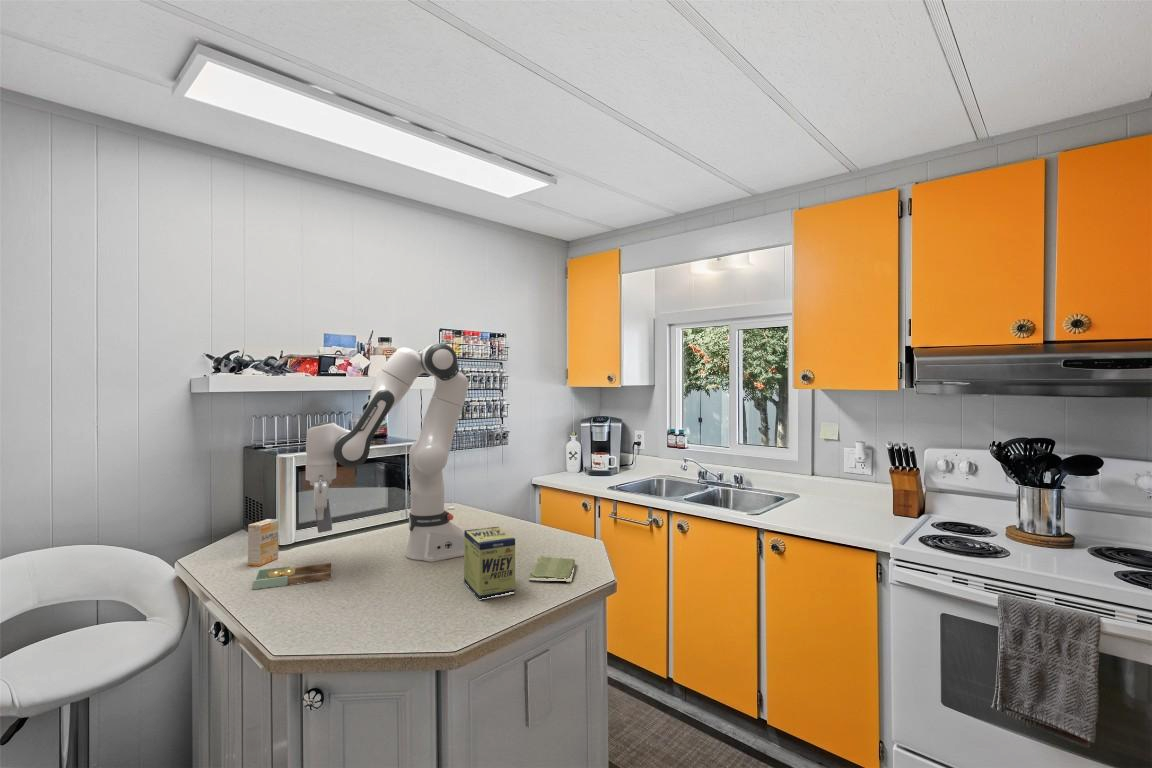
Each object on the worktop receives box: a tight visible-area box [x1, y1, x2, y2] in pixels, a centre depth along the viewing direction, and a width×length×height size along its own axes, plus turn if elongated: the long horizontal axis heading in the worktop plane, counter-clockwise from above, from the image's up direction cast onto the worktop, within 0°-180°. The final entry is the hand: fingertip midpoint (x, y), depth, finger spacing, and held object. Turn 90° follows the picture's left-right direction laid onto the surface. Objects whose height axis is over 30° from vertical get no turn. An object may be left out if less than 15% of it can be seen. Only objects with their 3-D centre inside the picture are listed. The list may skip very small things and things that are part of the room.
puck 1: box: [267, 569, 282, 579], centre depth 162 cm, size 4×4×3 cm
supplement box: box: [247, 518, 280, 567], centre depth 179 cm, size 8×5×13 cm, turn 168°
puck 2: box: [282, 567, 296, 577], centre depth 163 cm, size 4×4×3 cm
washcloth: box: [528, 556, 576, 579], centre depth 170 cm, size 13×18×3 cm
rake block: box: [314, 498, 333, 534], centre depth 175 cm, size 4×6×9 cm
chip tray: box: [252, 565, 291, 590], centre depth 161 cm, size 8×10×2 cm
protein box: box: [463, 526, 516, 599], centre depth 157 cm, size 10×16×16 cm
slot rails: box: [287, 562, 332, 586], centre depth 165 cm, size 12×10×2 cm
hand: (320, 517), depth 175 cm, fingers closed on rake block, 5 cm apart
